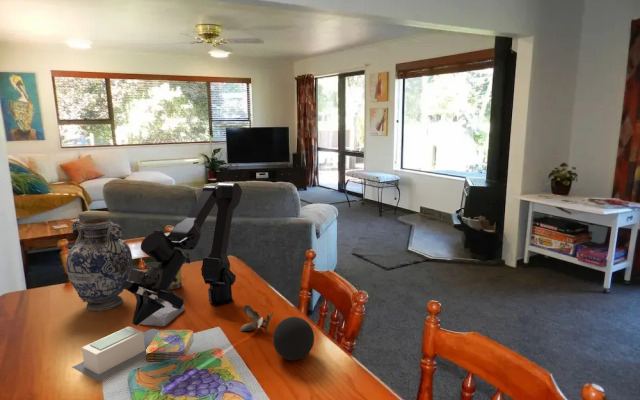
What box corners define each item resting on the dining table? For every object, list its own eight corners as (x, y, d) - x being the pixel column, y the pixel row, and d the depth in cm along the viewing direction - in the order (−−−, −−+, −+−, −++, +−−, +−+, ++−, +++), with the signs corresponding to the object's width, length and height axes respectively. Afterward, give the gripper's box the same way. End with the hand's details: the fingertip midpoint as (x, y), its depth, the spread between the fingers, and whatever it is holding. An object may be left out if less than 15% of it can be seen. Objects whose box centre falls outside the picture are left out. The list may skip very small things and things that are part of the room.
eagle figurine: (274, 319, 119) (244, 311, 120) (272, 305, 114) (242, 298, 115) (265, 343, 114) (234, 335, 115) (263, 330, 109) (231, 322, 110)
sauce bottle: (161, 286, 148) (156, 233, 145) (179, 282, 152) (174, 230, 149) (167, 292, 143) (162, 236, 140) (185, 287, 147) (180, 233, 144)
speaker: (318, 348, 105) (317, 311, 103) (308, 371, 95) (307, 330, 93) (281, 344, 107) (279, 308, 105) (267, 366, 97) (266, 326, 95)
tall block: (128, 325, 106) (81, 346, 96) (143, 330, 103) (96, 353, 93) (130, 344, 107) (84, 367, 97) (145, 350, 104) (98, 374, 94)
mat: (153, 330, 116) (153, 328, 115) (179, 340, 110) (179, 338, 110) (72, 370, 97) (72, 367, 97) (99, 384, 91) (98, 381, 91)
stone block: (136, 333, 118) (167, 329, 116) (132, 317, 118) (162, 313, 116) (159, 316, 130) (188, 312, 128) (156, 302, 129) (184, 297, 127)
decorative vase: (54, 310, 130) (44, 224, 125) (104, 290, 147) (97, 213, 142) (104, 321, 122) (95, 229, 117) (151, 298, 139) (144, 217, 134)
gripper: (124, 250, 111) (88, 304, 103) (170, 260, 101) (134, 321, 93) (152, 269, 118) (121, 320, 111) (197, 281, 109) (166, 338, 101)
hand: (134, 324), depth 104 cm, fingers closed
